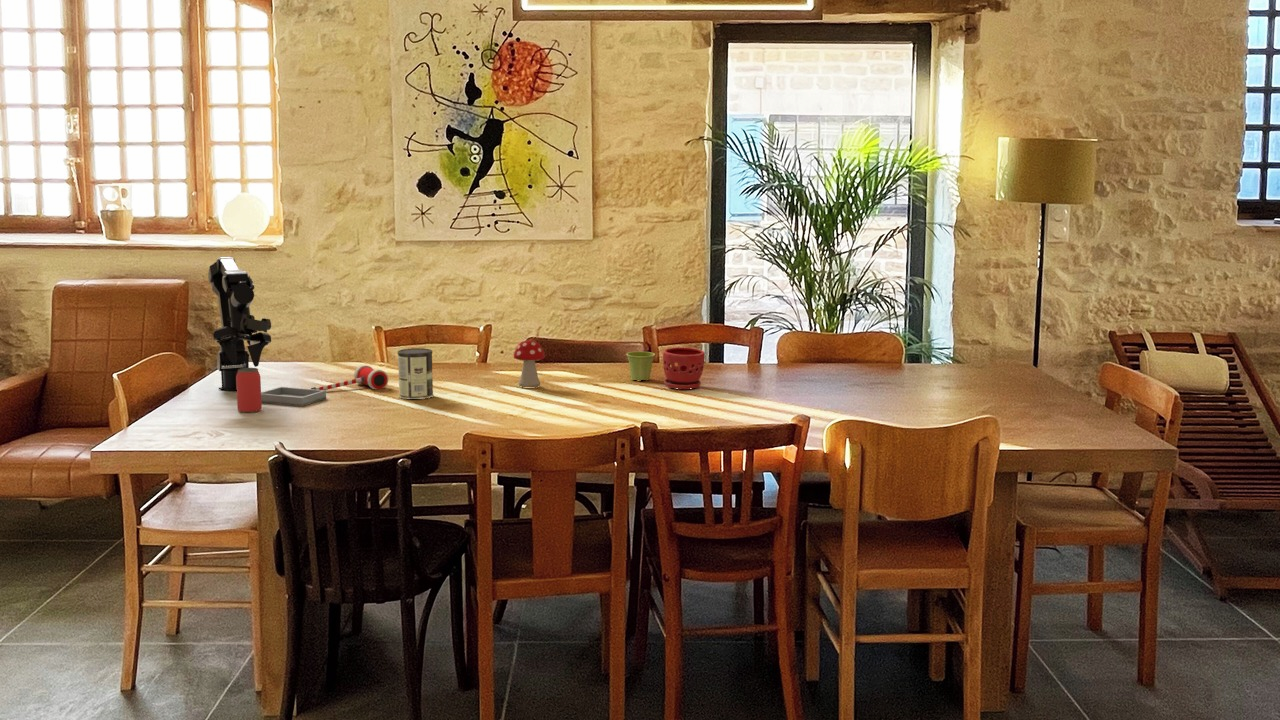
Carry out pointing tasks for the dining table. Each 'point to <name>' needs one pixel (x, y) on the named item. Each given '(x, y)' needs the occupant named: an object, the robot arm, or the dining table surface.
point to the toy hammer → (363, 379)
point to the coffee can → (415, 373)
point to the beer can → (248, 390)
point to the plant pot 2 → (683, 367)
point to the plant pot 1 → (640, 365)
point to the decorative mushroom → (529, 362)
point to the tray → (292, 396)
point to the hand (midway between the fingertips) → (245, 365)
